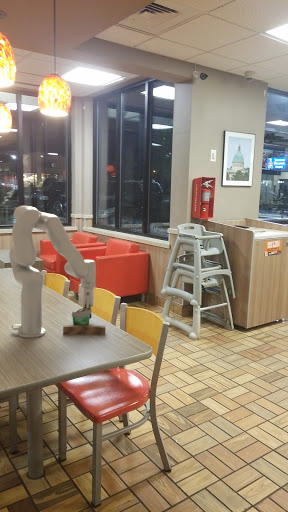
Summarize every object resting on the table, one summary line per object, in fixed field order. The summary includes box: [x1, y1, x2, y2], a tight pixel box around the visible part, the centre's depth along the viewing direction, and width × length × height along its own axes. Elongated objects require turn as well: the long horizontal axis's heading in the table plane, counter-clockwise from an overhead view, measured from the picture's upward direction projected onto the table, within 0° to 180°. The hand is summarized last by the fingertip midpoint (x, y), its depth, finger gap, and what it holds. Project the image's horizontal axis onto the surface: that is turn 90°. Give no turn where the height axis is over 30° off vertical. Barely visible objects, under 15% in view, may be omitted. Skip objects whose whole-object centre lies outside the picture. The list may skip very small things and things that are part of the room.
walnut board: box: [62, 324, 106, 336], centre depth 188 cm, size 20×2×4 cm, turn 95°
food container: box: [71, 306, 92, 325], centre depth 195 cm, size 12×6×10 cm, turn 155°
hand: (88, 317), depth 205 cm, fingers closed
